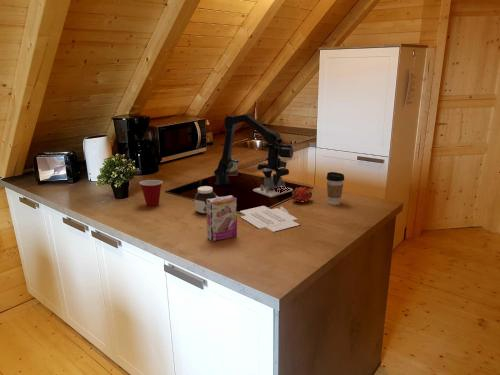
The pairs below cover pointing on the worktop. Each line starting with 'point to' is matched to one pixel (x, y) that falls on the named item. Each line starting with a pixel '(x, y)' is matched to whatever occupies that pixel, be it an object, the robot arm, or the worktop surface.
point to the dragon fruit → (301, 194)
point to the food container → (234, 167)
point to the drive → (272, 183)
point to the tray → (272, 192)
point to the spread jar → (203, 199)
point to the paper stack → (269, 218)
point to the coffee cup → (334, 187)
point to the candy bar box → (221, 218)
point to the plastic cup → (151, 192)
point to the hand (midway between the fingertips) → (272, 184)
